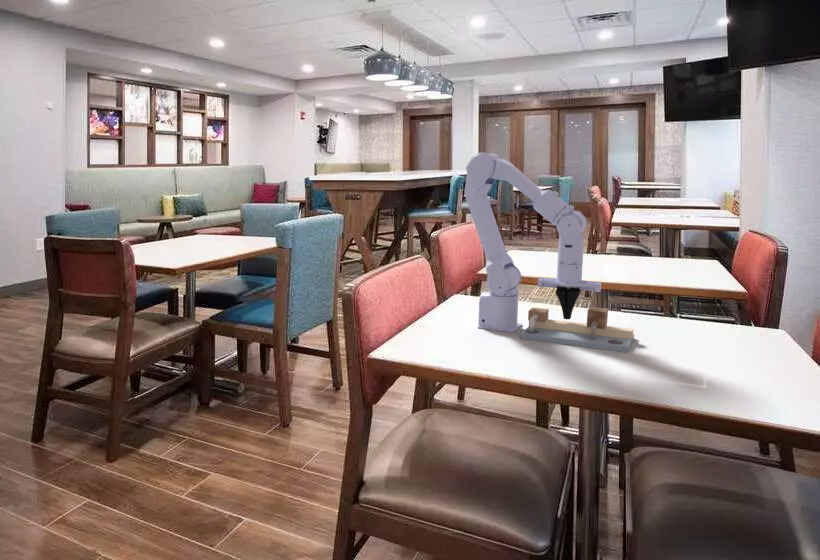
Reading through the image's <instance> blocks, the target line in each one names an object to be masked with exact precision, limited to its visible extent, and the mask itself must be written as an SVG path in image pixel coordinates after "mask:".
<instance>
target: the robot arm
mask: <svg viewBox="0 0 820 560" xmlns="http://www.w3.org/2000/svg"><path fill="white" fill-rule="evenodd" d="M465 171H466V179H465V186H464V197H465V200H466V202H467V206H468V207H469V212H470V214H471V217H472V219H473V223H474V226H475V228H476V231H477V234H478V237H479V241H480V243H481V247H482V249H483V251H484V252H483V253H484V255H485V259H486V264H485V271H486V285H487V288H488V289H489V291H483V292H482V293H481V294H480V297H479V302H478V325H477V328H478V329H484V330H491V331H499V332H506V333H507V332H508V333H515V332H516V331H517V330H519V328H521V326H523V323H521V322H518V313H519V312H518V311H519V310H518V309H519V290H518V286H519V285H520V284H521V281H522V274H521V270H520V268H518V267H517V266H516V265H515V264H514V261H513V259H512V257H511V256H510V255H509V254H508V252H507V250H506V247H505V244H504V241H503V238H502V236H501V235H502V234H501V233H500V229H499V226H498V223H497V220H496V218H495V215H494V212H493V208H492V206H491V203H490V199H489V197H488V193H489V192H490V189H491V188H492V186H493V184H494V183H495V182H496V181H505V182H507V183H509V184H510V185H511V186H513V187H514V188H516V189H517V190H518V191H519V192H521V193H522V194H523V195H524V196H525V197H527V198H528V199H529V200H531V201H532V207H533V209H534V211H536V212H537V213H539V215H541V216H542V217H543V218H544V219H545V220H547V221H548V222H549V223H551V225H553V226H556V230H557V232H558V234H559V239H558V247H557V249H558V250H557V268H556V269H557V270H556V271H557V272H556V273H557V274H556V278H553V277H552V278H550V277H548V278H547V277H540V278H538V279H537V287H538V288H555V295H556V297H557V299H558V301H559V304H560V307H561V310H562V315H563V316H562V317H563V320H570V319H572V314H573V311H574V307H575V305H576V302H577V300H578V298H579V296H580V294H581V293H582V291H588V292H594V293H600V292H601V291H602V282H596V281H589V280H582V279H583V263H584V245H585V244H584V233H583V232H584V231H585V230H586V227H587V222H588V221H587V218H586V216H585V215H584V214H583V213H582V211H579V210H574V209H575V207H574V205H572V204H570V205H569V204H568V203H566V202H565V201H564V200H563V199H561V197H559V195H560V193H559V192H557V191H556V190H555V191H554V190H553V191H552V190H550V189H545V190H542V189H541V188H540V187H539V186H538V185H536V183H534V182H533V181H532V180H531V179H530V178H529V177H527V176H526V175H525V174H524V173H523V172H522V171H521V170H520V169H519V168H518V167H516V166H515V165H514V164H513V163H511V162H510V161H509V160H508V159H504V158H503V157H502V156H501V155H500V154H498V153H488V152H482V151H481V152H478V153H475V154H473V156H472V157H471V158H470V161H469V162H468V163H467V165H466V167H465Z"/></svg>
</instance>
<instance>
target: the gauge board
mask: <svg viewBox="0 0 820 560" xmlns="http://www.w3.org/2000/svg"><path fill="white" fill-rule="evenodd" d="M527 314H528V315H527V320H528V327H527V328H525V329H524V330H523V331H522V332H521V333H520V339H525V340H532V341H539V342H546V343H553V344H561V345H569V346H576V347H583V348H585V347H586V348H593V349H599V350H607V351H615V352H620V353H621V352H622V353H628V352H629V350H630V348H631V346H632V344H633V341H634V339H635V333H634V328H628V327H627V328H625V327H619V326H618V327H617V326H609V325H607V326H606V327H605V329H600V328H595V339H591V338H590V333H591V327H587V323H582V322H576V321H575V322H574V321H566V320H565V321H564V320H558V319H557V320H556V319H549V308H540V307H532V308H530V309H529V310H528V313H527Z"/></svg>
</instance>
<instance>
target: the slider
mask: <svg viewBox="0 0 820 560" xmlns="http://www.w3.org/2000/svg"><path fill="white" fill-rule="evenodd" d="M608 314H609V308H607V307H606V308H604V307H596V306H595V307H594V306H590V307H589V308H588V309H587V314H586V315H587V317H586V324H587V327H591V333H590V338H591V339H595V328H600V329H605V327H606V326H608V316H609V315H608Z"/></svg>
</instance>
